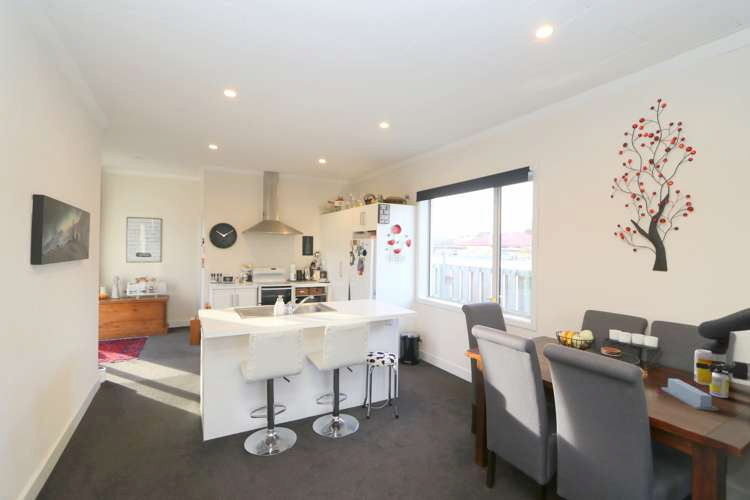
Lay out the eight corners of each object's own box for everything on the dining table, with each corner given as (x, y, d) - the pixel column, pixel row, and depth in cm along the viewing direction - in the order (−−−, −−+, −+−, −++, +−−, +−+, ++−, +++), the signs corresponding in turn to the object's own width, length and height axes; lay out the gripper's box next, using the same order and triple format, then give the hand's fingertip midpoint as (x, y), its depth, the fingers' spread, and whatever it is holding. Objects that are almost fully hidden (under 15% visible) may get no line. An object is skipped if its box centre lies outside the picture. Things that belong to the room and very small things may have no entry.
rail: (661, 389, 181) (661, 377, 180) (680, 390, 180) (681, 378, 180) (696, 409, 159) (697, 395, 159) (718, 410, 158) (719, 397, 158)
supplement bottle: (723, 393, 176) (724, 368, 176) (731, 399, 170) (732, 372, 170) (706, 391, 179) (707, 366, 178) (713, 397, 172) (715, 370, 172)
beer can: (715, 385, 162) (716, 353, 162) (699, 384, 163) (700, 352, 163) (705, 380, 168) (706, 349, 168) (690, 379, 169) (691, 348, 169)
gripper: (745, 359, 162) (695, 351, 173) (750, 367, 151) (697, 358, 162) (744, 375, 162) (694, 367, 173) (750, 385, 151) (696, 375, 162)
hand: (696, 363), depth 167 cm, fingers closed on beer can, 5 cm apart
